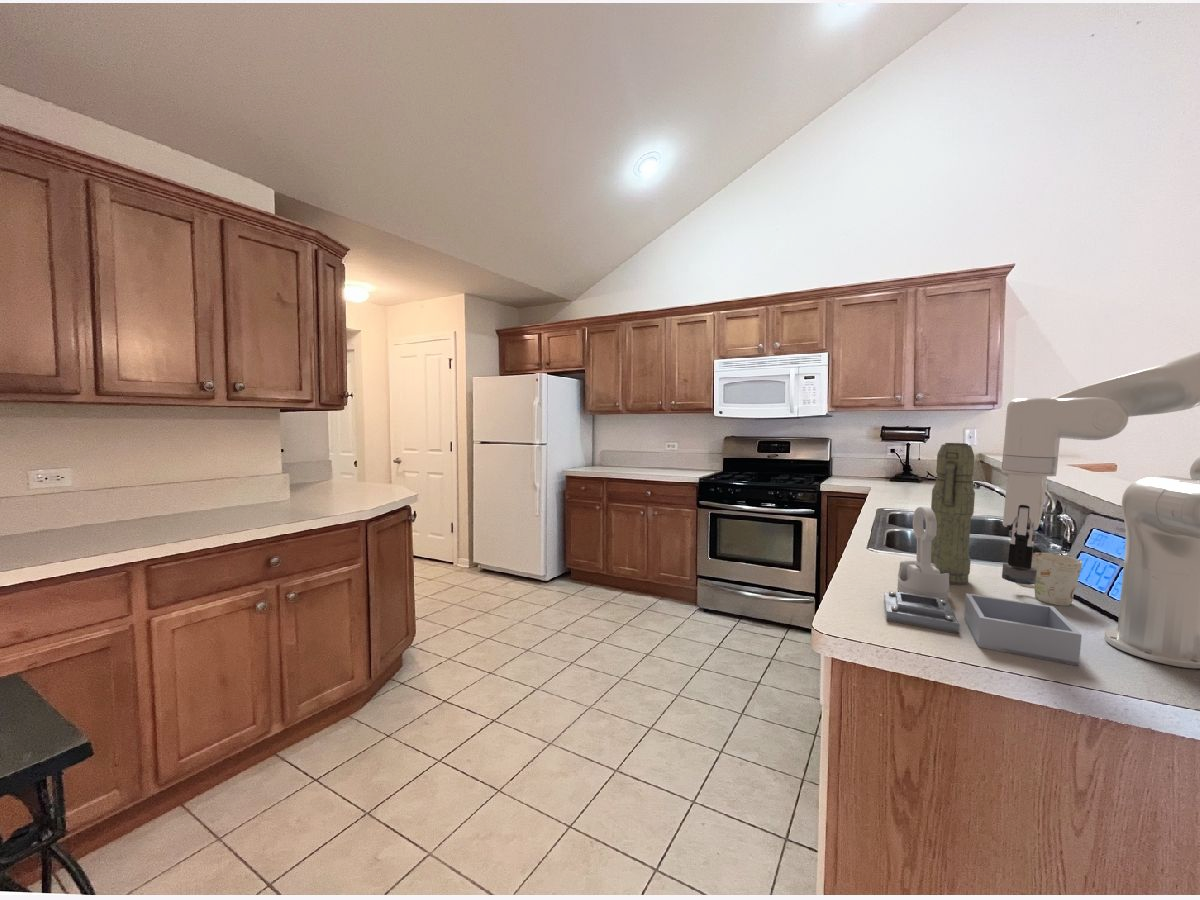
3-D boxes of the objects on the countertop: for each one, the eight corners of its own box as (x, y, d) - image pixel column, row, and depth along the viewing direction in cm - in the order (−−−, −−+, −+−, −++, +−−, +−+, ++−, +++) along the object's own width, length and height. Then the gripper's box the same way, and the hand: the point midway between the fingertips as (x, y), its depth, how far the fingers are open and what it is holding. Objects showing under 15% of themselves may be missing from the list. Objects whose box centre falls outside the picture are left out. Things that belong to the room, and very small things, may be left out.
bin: (1050, 633, 93) (1053, 606, 93) (1078, 666, 81) (1081, 634, 81) (964, 619, 100) (965, 593, 99) (978, 646, 88) (980, 617, 87)
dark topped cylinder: (1003, 573, 93) (1007, 528, 92) (1036, 580, 90) (1041, 532, 89) (1000, 579, 90) (1004, 532, 89) (1035, 586, 86) (1039, 537, 85)
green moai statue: (924, 581, 122) (932, 443, 119) (929, 569, 131) (937, 441, 129) (968, 589, 117) (978, 445, 114) (969, 576, 126) (979, 443, 123)
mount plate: (948, 611, 103) (949, 596, 103) (958, 633, 93) (959, 617, 93) (884, 600, 109) (884, 586, 109) (886, 620, 99) (887, 605, 98)
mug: (1076, 611, 104) (1080, 566, 103) (1001, 594, 114) (1005, 553, 113) (1080, 601, 110) (1083, 558, 109) (1008, 586, 119) (1011, 546, 118)
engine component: (907, 599, 110) (957, 603, 108) (913, 511, 108) (963, 513, 106) (889, 583, 120) (933, 586, 118) (893, 502, 119) (939, 504, 117)
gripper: (1005, 461, 96) (997, 551, 98) (998, 467, 84) (989, 569, 86) (1057, 464, 91) (1048, 559, 93) (1057, 471, 79) (1046, 580, 81)
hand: (1020, 563), depth 89 cm, fingers closed on dark topped cylinder, 3 cm apart
